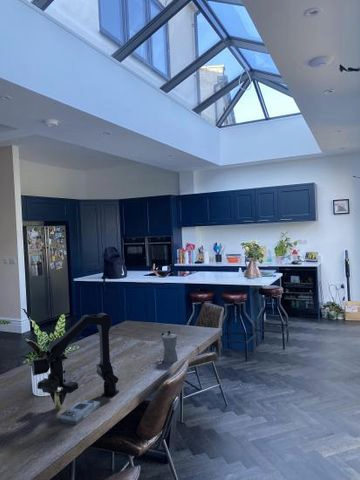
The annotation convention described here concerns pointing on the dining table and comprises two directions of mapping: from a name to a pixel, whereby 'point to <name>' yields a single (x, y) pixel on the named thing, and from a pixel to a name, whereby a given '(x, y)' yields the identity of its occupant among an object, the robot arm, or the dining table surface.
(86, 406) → the slotted mounting bracket
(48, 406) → the dining table surface
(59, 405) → the pin
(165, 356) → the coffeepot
